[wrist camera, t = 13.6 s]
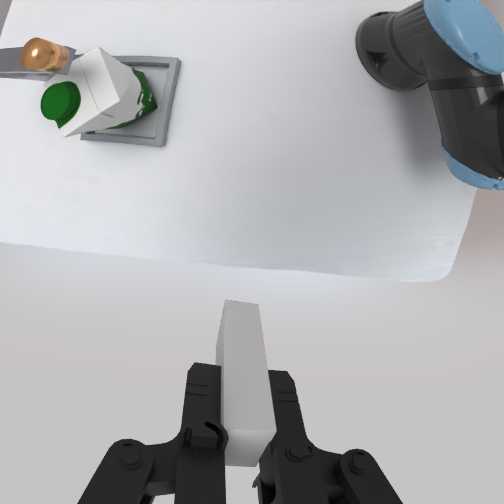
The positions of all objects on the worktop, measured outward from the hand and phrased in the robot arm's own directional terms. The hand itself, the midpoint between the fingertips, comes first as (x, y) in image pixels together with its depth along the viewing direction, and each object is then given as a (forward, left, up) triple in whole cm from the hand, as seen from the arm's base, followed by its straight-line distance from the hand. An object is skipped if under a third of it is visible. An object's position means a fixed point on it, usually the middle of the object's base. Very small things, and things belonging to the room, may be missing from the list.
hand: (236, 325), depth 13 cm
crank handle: (-14, -25, -13) cm, 31 cm away
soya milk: (-11, -19, -37) cm, 43 cm away
